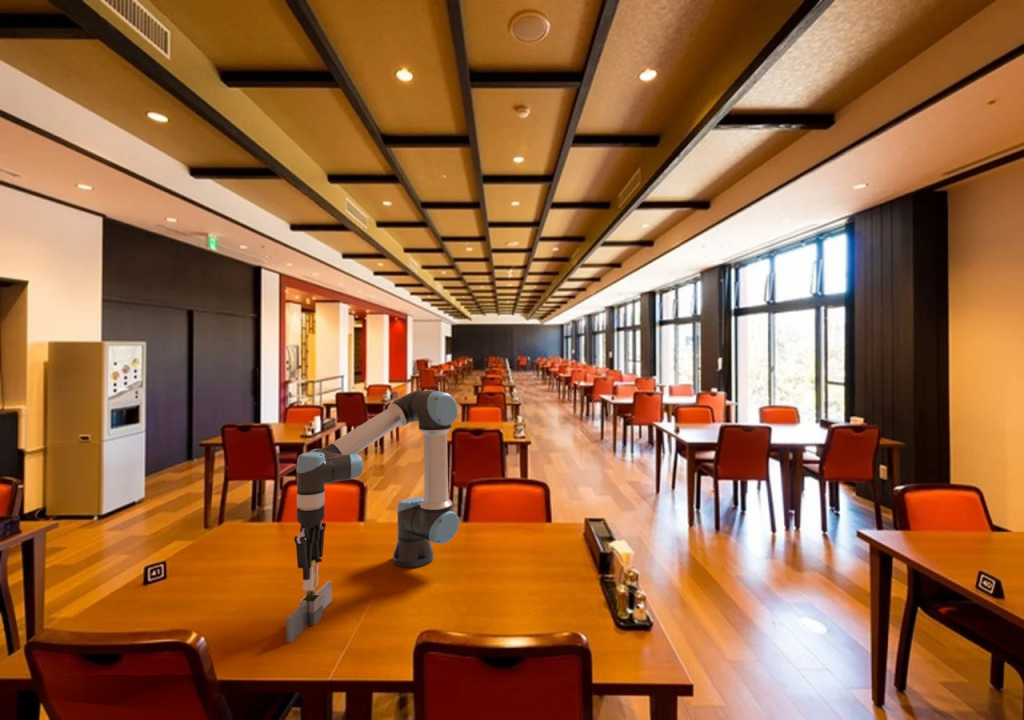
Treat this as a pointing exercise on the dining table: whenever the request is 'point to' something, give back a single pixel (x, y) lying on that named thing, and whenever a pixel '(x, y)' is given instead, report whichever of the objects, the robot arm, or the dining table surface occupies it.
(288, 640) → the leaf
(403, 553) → the robot arm
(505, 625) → the dining table surface
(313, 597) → the pin
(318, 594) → the leaf
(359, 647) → the dining table surface
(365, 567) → the dining table surface
